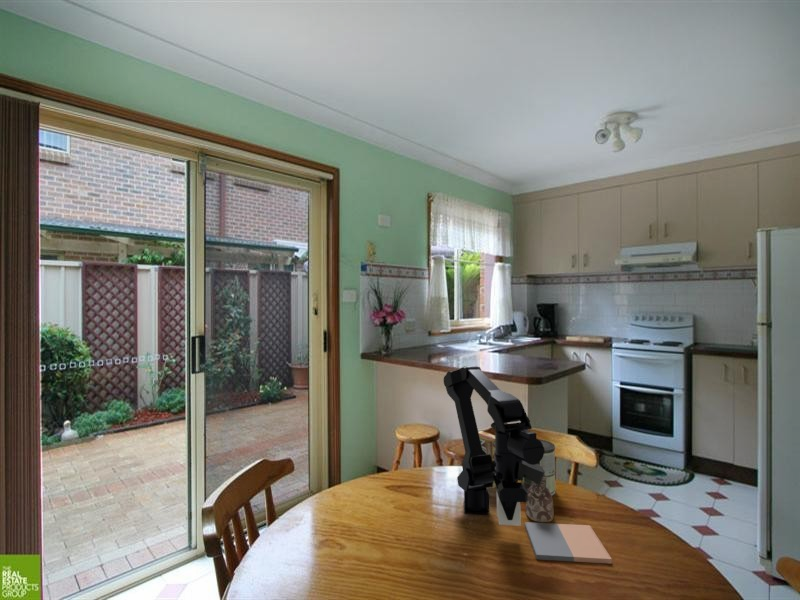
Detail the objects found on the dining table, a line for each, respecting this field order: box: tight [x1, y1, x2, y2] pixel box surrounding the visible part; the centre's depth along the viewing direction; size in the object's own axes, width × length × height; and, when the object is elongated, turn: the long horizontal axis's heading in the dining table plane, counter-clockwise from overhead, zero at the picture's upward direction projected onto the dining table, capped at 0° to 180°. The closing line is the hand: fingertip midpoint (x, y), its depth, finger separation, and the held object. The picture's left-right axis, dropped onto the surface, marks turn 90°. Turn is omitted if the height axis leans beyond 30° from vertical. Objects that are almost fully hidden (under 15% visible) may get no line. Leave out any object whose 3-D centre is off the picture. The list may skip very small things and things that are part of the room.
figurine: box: [525, 475, 555, 523], centre depth 110 cm, size 7×7×12 cm
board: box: [524, 521, 613, 565], centre depth 97 cm, size 16×14×1 cm
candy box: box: [478, 430, 497, 489], centre depth 132 cm, size 9×4×15 cm, turn 33°
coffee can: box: [520, 438, 556, 497], centre depth 126 cm, size 10×10×14 cm
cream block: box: [496, 489, 522, 527], centre depth 100 cm, size 5×5×6 cm
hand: (508, 514), depth 100 cm, fingers closed on cream block, 5 cm apart
